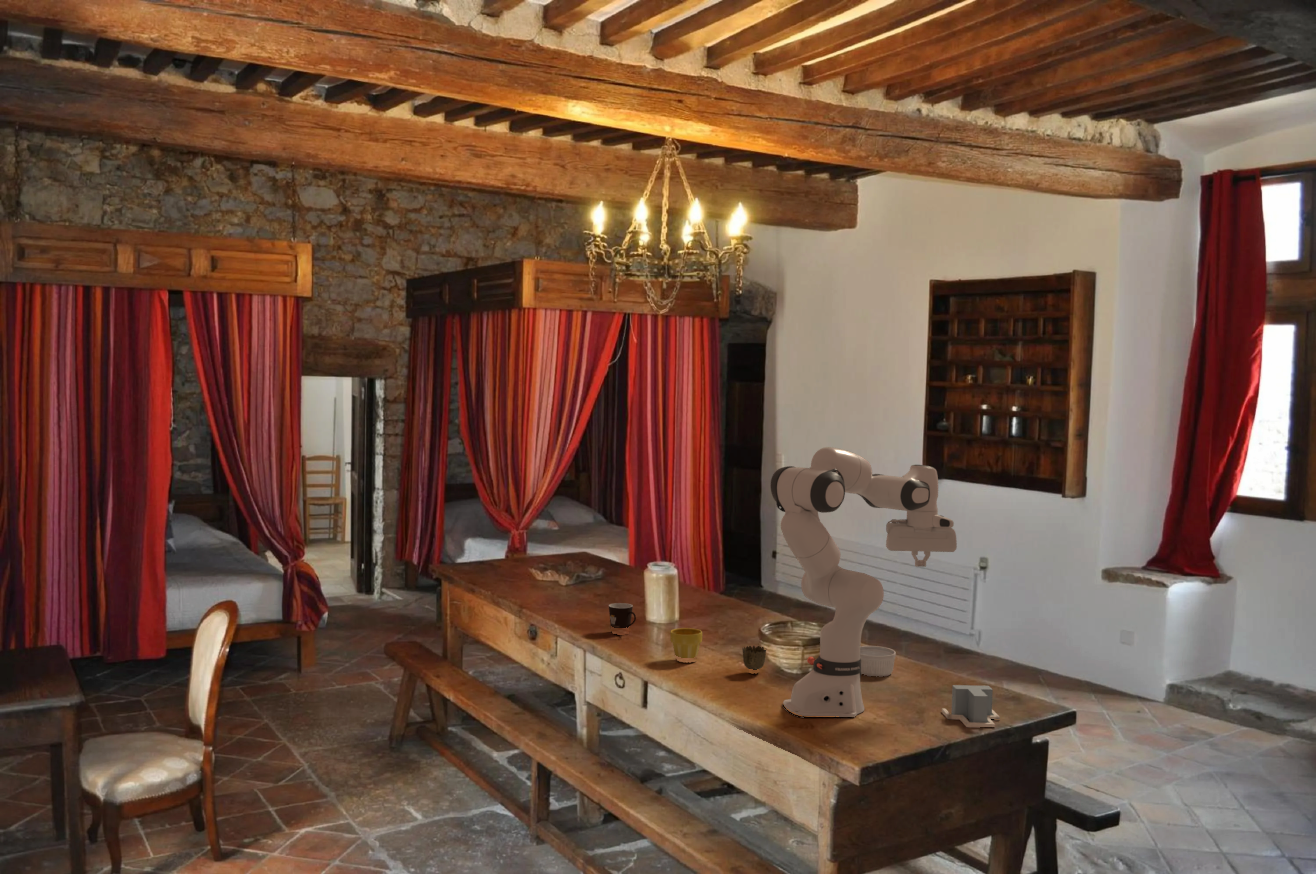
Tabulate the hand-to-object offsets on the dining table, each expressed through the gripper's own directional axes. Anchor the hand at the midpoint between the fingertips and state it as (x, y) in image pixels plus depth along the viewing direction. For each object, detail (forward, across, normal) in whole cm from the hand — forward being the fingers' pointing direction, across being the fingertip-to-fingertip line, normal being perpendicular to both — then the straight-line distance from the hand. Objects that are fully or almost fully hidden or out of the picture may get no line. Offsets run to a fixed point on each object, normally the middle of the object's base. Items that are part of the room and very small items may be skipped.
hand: (920, 566), depth 317 cm
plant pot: (+37, -68, +28) cm, 83 cm away
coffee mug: (+37, -90, +63) cm, 116 cm away
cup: (+37, -47, +15) cm, 62 cm away
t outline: (+37, +9, -26) cm, 47 cm away
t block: (+37, +10, -27) cm, 47 cm away
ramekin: (+37, -9, +20) cm, 43 cm away
